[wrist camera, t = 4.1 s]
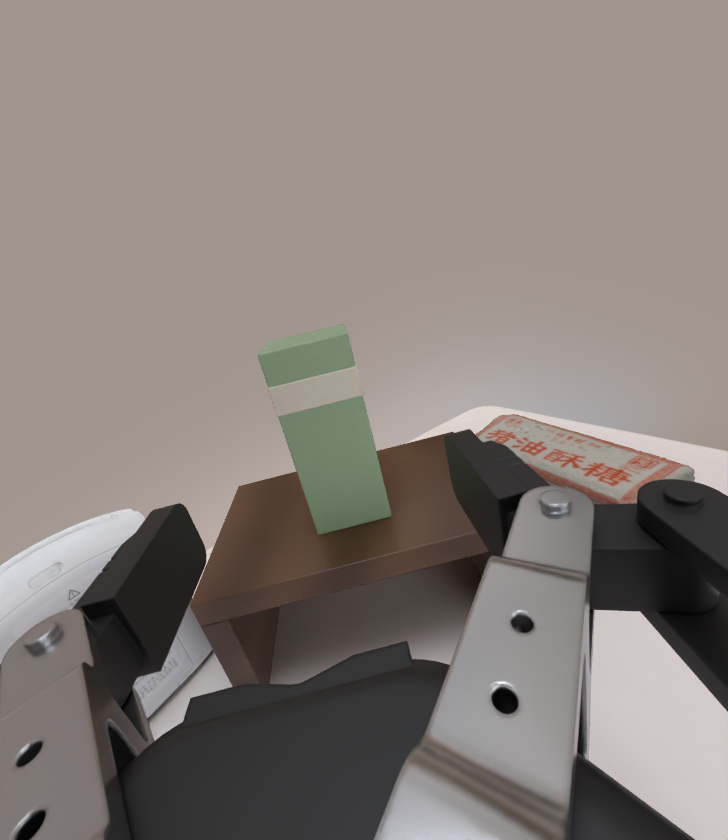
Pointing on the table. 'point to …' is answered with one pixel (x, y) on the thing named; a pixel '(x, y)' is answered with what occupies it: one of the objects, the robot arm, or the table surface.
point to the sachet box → (326, 427)
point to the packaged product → (582, 459)
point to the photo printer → (69, 579)
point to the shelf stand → (323, 552)
